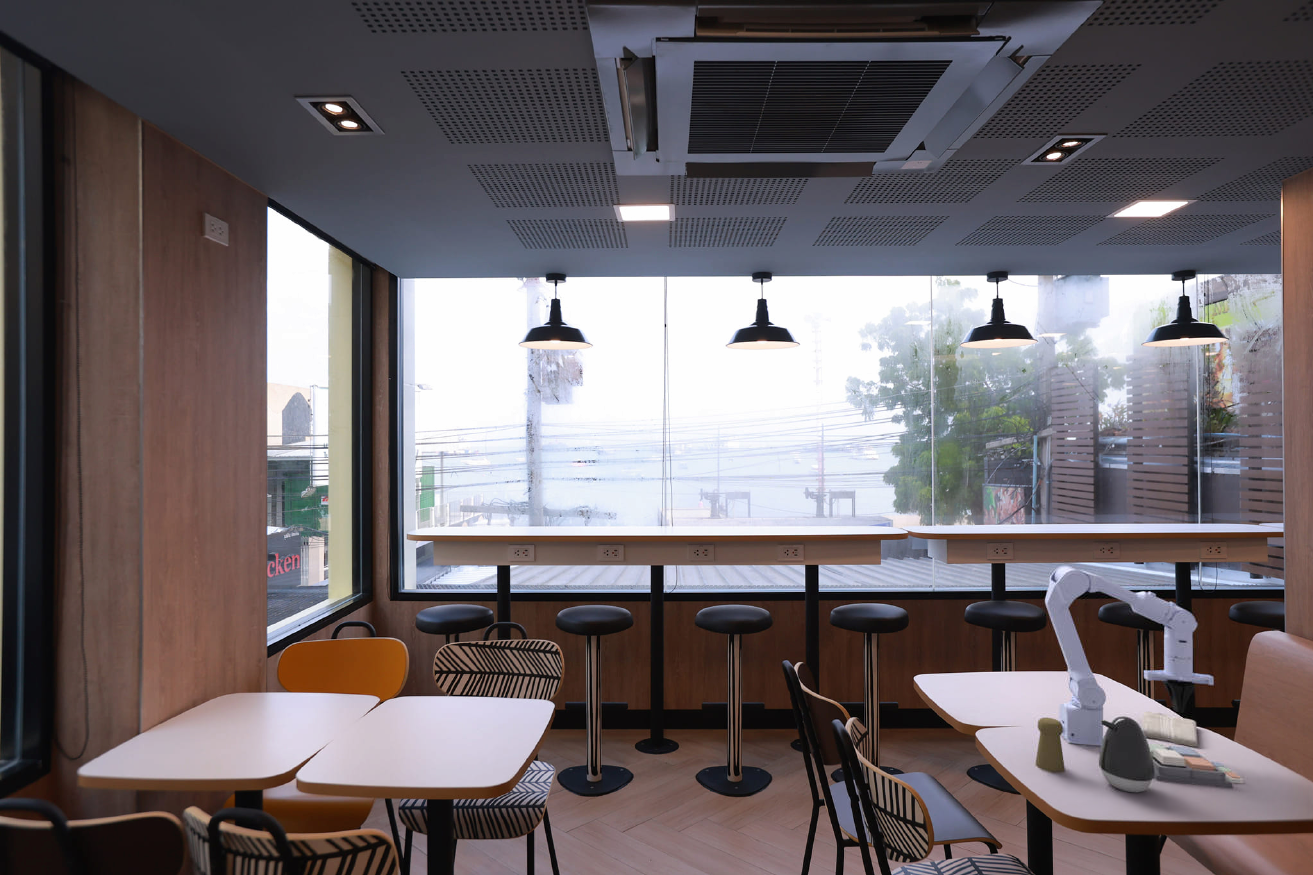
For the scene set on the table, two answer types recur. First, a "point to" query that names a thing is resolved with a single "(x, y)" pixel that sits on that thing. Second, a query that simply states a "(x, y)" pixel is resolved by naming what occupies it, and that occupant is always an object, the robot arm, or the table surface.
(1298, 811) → the table surface
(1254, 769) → the table surface
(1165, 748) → the sage key
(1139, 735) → the pump dispenser
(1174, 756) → the ivory key
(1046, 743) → the cork
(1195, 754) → the slate key
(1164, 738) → the washcloth
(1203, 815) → the table surface
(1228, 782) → the keypad base
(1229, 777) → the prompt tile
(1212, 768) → the terracotta key
